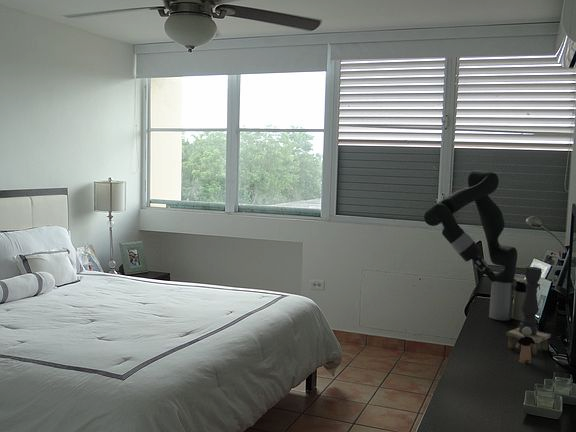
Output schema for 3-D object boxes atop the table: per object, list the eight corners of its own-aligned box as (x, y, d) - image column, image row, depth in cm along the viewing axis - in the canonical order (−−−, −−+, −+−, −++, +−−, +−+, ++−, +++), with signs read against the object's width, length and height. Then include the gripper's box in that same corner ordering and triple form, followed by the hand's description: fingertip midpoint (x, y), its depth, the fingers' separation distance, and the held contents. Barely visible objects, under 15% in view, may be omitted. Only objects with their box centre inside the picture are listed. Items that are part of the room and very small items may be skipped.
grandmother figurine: (528, 359, 218) (531, 324, 217) (536, 363, 214) (539, 327, 213) (511, 361, 215) (514, 326, 214) (519, 364, 211) (522, 329, 210)
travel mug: (533, 322, 272) (536, 282, 270) (515, 321, 272) (518, 281, 271) (526, 317, 280) (530, 279, 278) (509, 316, 280) (512, 278, 278)
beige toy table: (518, 342, 239) (519, 327, 239) (549, 349, 231) (550, 334, 230) (505, 347, 231) (506, 332, 230) (536, 355, 222) (538, 339, 222)
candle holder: (536, 336, 227) (542, 270, 224) (519, 333, 229) (524, 268, 226) (536, 332, 233) (541, 267, 230) (518, 329, 235) (524, 266, 232)
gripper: (474, 242, 226) (503, 275, 225) (472, 238, 240) (500, 269, 239) (458, 255, 228) (487, 288, 227) (457, 250, 242) (485, 281, 240)
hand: (494, 278), depth 233 cm, fingers open, 8 cm apart
